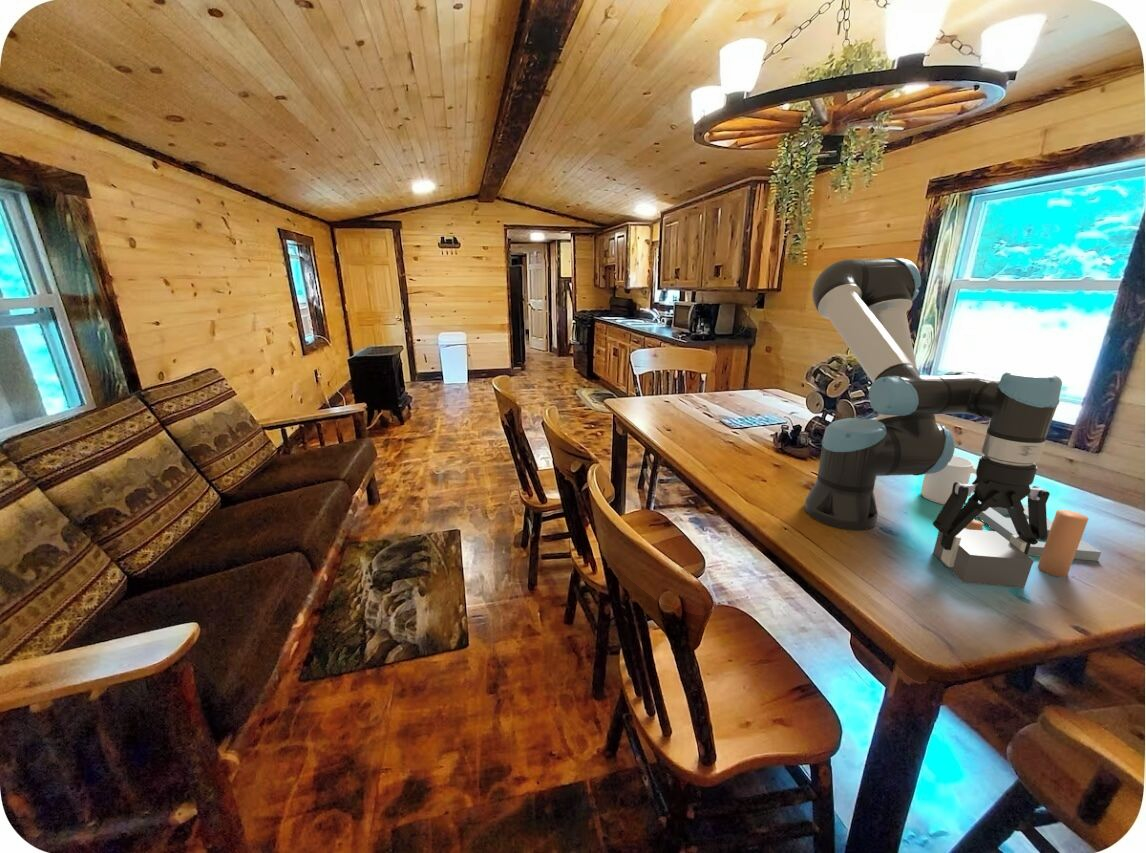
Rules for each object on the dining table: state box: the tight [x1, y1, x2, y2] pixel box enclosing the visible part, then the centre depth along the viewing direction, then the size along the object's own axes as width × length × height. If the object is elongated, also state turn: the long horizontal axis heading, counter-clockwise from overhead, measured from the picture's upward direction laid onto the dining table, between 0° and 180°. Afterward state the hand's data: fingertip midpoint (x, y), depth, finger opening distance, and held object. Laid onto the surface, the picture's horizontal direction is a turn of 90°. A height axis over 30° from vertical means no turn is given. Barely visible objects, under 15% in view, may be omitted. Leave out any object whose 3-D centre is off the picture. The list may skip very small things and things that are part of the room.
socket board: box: [966, 500, 1102, 562], centre depth 98 cm, size 12×20×2 cm, turn 168°
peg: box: [1037, 509, 1089, 578], centre depth 83 cm, size 4×4×12 cm
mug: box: [920, 455, 977, 506], centre depth 112 cm, size 9×12×11 cm
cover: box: [933, 529, 1035, 589], centre depth 85 cm, size 10×10×6 cm
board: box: [964, 519, 985, 531], centre depth 97 cm, size 7×7×4 cm
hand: (977, 565), depth 86 cm, fingers closed on cover, 10 cm apart
